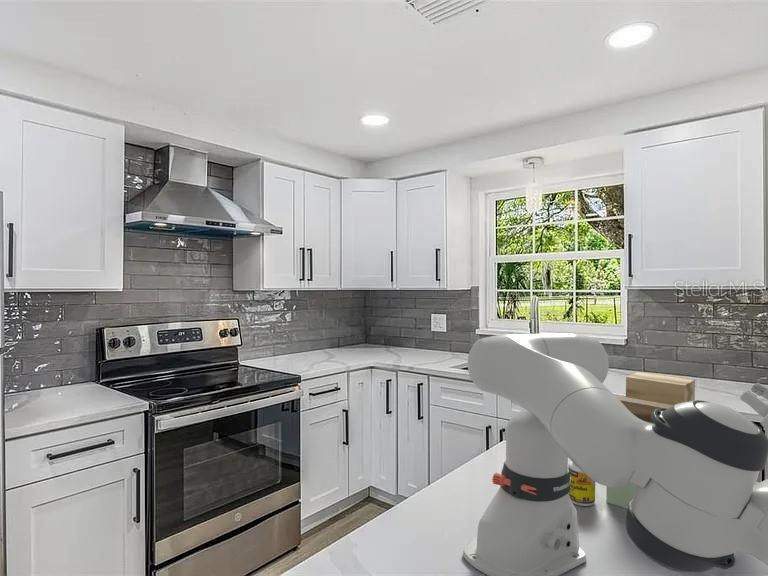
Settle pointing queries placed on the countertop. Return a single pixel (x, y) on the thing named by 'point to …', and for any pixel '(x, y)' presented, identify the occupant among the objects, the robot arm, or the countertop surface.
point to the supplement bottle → (581, 487)
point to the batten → (641, 407)
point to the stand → (660, 388)
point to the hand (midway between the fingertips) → (748, 389)
